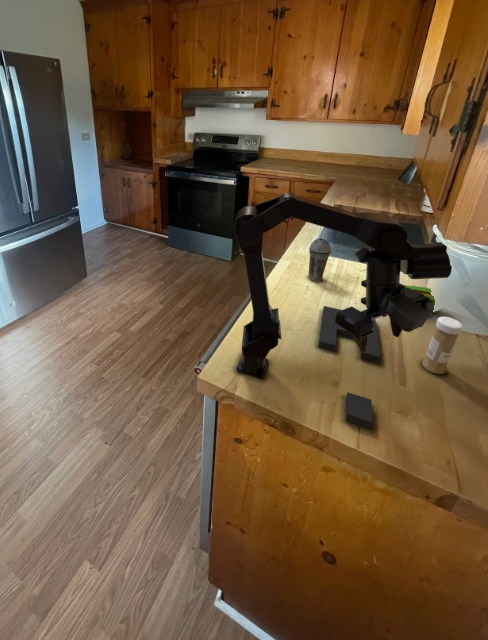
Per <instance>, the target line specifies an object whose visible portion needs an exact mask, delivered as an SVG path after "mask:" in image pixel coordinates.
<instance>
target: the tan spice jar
mask: <svg viewBox="0 0 488 640" xmlns="http://www.w3.org/2000/svg"><path fill="white" fill-rule="evenodd" d="M462 331H463V324H462V323H461V322H460V321H458V320H457V319H455V318H452V317H449V316H439V317H438V318H437V320H436V323H435V328H434V331H433V333H432V336H431V338H430V342H429V344H428V347H427V350H426V354H425V357H424V360H423V361H422V365H423V367H424V368H425V369H426V370H427V371H429V372H430V373H434V374H436V375H443V374H445V372H446V368H447V366H448V363H449V362H450V359H451V356H452V353H453V351H454V348H455V345H456V342H457V339H458V337H459V335H460V334H461V333H462Z"/></svg>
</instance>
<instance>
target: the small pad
mask: <svg viewBox="0 0 488 640" xmlns="http://www.w3.org/2000/svg"><path fill="white" fill-rule="evenodd" d="M372 404H373V403H372V399H371V398H369V397H365V396H362V395H358V394H355V393H352V392H349V391H348V392H347V393H346V397H345V422H347V423H349V424H352V425H355V426H358V427H361V428H363V429H367V430H370V431H371V430H372V427H373V425H374V419H373V418H374V417H373V405H372Z"/></svg>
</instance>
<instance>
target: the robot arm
mask: <svg viewBox="0 0 488 640" xmlns="http://www.w3.org/2000/svg"><path fill="white" fill-rule="evenodd" d="M291 218H292V219H296V220H299V221H302V222H305V223H307V224H312V225H315V226H319V227H322V228H325V229H326V228H327V229H328V230H332V231H335V232H338V233H342V234H346V235H348V236H351V237H352V238H355V239H356V240H358V241H360V242H361V243H363V244H364V246H363V247H362V248H361V249H359V250H358V251H356V252H355V253H354V255H355V256H356V258H357V260H358V262H359V263H366V271H365V273H366V274H365V276H366V277H365V279H363V280H361V281H360V286H361V287H363V288H365V296H364V297H361V298H360V303H361V304H362V305H364V306H365V308H366V309H363V310H359V309H358V308H355V307H354V306H352V305H351V306H348V307H347V308H344V309H340V310H341V311H339V312H337V313H335V323H336V324H338V325H339V326H341V327H342V328H344V329H345V330H347V331H348V332H350V333H351V334H352V336H353V338H354V339H353V340H354V341H355V344H356V345H357V347H358V349H359V351H360V350H361V351H362V352H365V351H366V347H367V337H368V335H369V334H371V333H373V331H372V328H373V322H372V320H374V319H379V318H382V317H383V318H386V317H389V323H390V329H391V332H392V333H391V334H392V336H393V337H396V338H399V337H400V336H401V334H402V332H403V331H404V332H406V333H410V332H411V333H412V332H413V331H414V330H416V329H419V328H422V327H423V326H424V325H425V324H426V322H427V320H428V319H431V318H433V317H434V313H433V310H434V304H433V300H431V299H430V298H429V297H428V296H426V297H425V296H424V294H422V293H419V292H417V291H415V290H412V289H410V288H408V287H405V285H406V284H402V283H400V281H401V272H402V274H404V275H407V277H408V278H409V279H411V280H431V279H432V280H434V279H448V278H449V277H450V276H451V274H452V269H453V266H452V265H451V259H450V256H449V254H448V252H447V251H448V246H447V245H446V244H445V243H443V242H442V241H435V242H429V243H417V244H415V243H414V244H412V243H411V242H410V241H409V240H408V233H407V229H406V228H405V227H403V226H402V224H400V223H399V221H397V220H396V219H395V218H394V217H392V216H390V215H389V214H384V213H376V212H368V211H366V212H356V211H351V210H347V209H344V208H340V207H337V206H333V205H331V204H326V203H323V202H319V201H316V200H313V199H310V198H306V197H302V196H298V195H296V194H294V193H293V192H284V193H282V194H281V195H279V196H277V197H274V198H271V199H268V200H266V201H262V202H259V203H258V204H256V205H253V206H252V205H246V206H243V207H242V208H240V209H239V210H238V212H237V213H236V215H235V219H234V223H233V229H232V230H233V234H234V236H235V240H236V243H237V245H238V247H239V249H240V251H241V253H242V254H243V258H244V264H245V270H246V276H247V281H248V282H247V283H248V288H249V294H250V300H251V306H252V312H253V313H252V321H250V322H249V323H247V324H245V325H244V326H243V330H242V339H241V354H240V355H241V356H240V358H239V360H238V363H237V365H236V368H235V370H236V372H240V373H242V374H245V375H248V376H251V377H255V378H258V379H264V377H265V374H266V371H267V368H268V364H269V359H268V358H267V356H268V355H269V353H270V352H271V350H273V349H275V348H276V347H278V345H279V340H282V327H281V319H280V315H279V308H278V307H276V308H272V306H271V303H270V298H269V291H268V284H267V283H268V282H267V276H266V269H265V263H264V255H263V240H264V239H263V238H264V234H265V233H267V232H269V231H271V230H273V229H274V228H276V227H277V226H278V225H280V224H282V223H283V222H284V221H286V220H288V219H291ZM368 247H370V248H368Z"/></svg>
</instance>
